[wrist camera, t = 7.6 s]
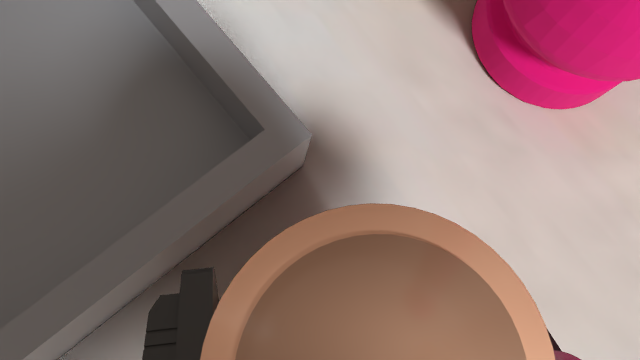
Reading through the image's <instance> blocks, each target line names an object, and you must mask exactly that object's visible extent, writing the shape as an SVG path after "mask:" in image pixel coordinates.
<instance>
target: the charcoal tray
mask: <svg viewBox="0 0 640 360" xmlns="http://www.w3.org/2000/svg"><path fill="white" fill-rule="evenodd" d="M311 136H312V134H311V133H310V132H309V131H308V130H307V128H306V127H305V126H304V125H303V124H302V123H301V121H300V120H299V119H298V118H297V117H296V116H295V114H294V113H293V112H292V111H291V110H290V109H289V107H288V106H287V105H286V104H285V103H284V102H283V101H282V99H281V98H280V97H279V96H278V95H277V94H276V92H275V91H274V90H273V89H272V88H271V87H270V85H269V84H268V83H267V82H266V81H265V80H264V78H263V77H262V76H261V75H260V74H259V73H258V71H257V70H256V69H255V68H254V67H253V66H252V65H251V63H250V62H249V61H248V60H247V59H246V58H245V56H244V55H243V54H242V53H241V52H240V51H239V49H238V48H237V47H236V46H235V45H234V44H233V42H232V41H231V40H230V39H229V38H228V37H227V36H226V34H225V33H224V32H223V31H222V30H221V29H220V27H219V26H218V25H217V24H216V23H215V22H214V20H213V19H212V18H211V17H210V16H209V15H208V13H207V12H206V11H205V10H204V9H203V8H202V6H201V5H200V4H199V3H198V2H197V1H196V0H0V360H57V359H59V358H60V357H61V356H62V355H64V354H65V353H66V352H68V351H69V350H70V349H71V348H73V347H74V346H75V345H76V344H78V343H79V342H80V341H81V340H83V339H84V338H85V337H87V336H88V335H89V334H90V333H92V332H93V331H94V330H95V329H97V328H98V327H99V326H101V325H102V324H103V323H104V322H106V321H107V320H108V319H109V318H111V317H112V316H113V315H114V314H116V313H117V312H118V311H120V310H121V309H122V308H123V307H125V306H126V305H127V304H128V303H130V302H131V301H132V300H133V299H135V298H136V297H137V296H139V295H140V294H141V293H142V292H144V291H145V290H146V289H147V288H149V287H150V286H151V285H152V284H154V283H155V282H156V281H158V280H159V279H160V278H161V277H163V276H164V275H165V274H166V273H168V272H169V271H170V270H171V269H173V268H174V267H175V266H177V265H178V264H179V263H180V262H182V261H183V260H184V259H185V258H187V257H188V256H189V255H190V254H192V253H193V252H194V251H196V250H197V249H198V248H199V247H201V246H202V245H203V244H204V243H206V242H207V241H208V240H210V239H211V238H212V237H213V236H215V235H216V234H217V233H218V232H220V231H221V230H222V229H223V228H225V227H226V226H227V225H229V224H230V223H231V222H232V221H234V220H235V219H236V218H237V217H239V216H240V215H241V214H242V213H244V212H245V211H246V210H248V209H249V208H250V207H251V206H253V205H254V204H255V203H256V202H258V201H259V200H260V199H261V198H263V197H264V196H265V195H267V194H268V193H269V192H270V191H272V190H273V189H274V188H275V187H277V186H278V185H279V184H280V183H282V182H283V181H284V180H286V179H287V178H288V177H289V176H291V175H292V174H293V173H294V172H296V171H297V170H298V169H300V168H301V167H302V166H303V164H304V160H305V157H306V153H307V150H308V147H309V143H310V140H311Z"/></svg>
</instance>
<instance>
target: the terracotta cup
mask: <svg viewBox="0 0 640 360" xmlns="http://www.w3.org/2000/svg"><path fill="white" fill-rule="evenodd" d="M200 360H555V356H554V351H553V347H552V344H551V341H550V338H549V334H548V331H547V328H546V325H545V323H544V321H543V319H542V317H541V314H540V312H539V310H538V308H537V306H536V304H535V302H534V300H533V299H532V297H531V295H530V294H529V292H528V290H527V289H526V287H525V286H524V284H523V282H522V281H521V280H520V279H519V277H518V276H517V275H516V274H515V272H514V271H513V270H512V268H511V267H510V266H509V265H508V264H507V263H506V262H505V261H504V260H503V259H502V258H501V257H500V256H499V255H498V254H497V253H496V252H495V251H494V250H493V249H492V248H491V247H490V246H488V245H487V244H486V243H485V242H483V241H482V240H481V239H479V238H478V237H477V236H476V235H474V234H473V233H471V232H469V231H468V230H466V229H464V228H463V227H461V226H459V225H458V224H456V223H454V222H452V221H449V220H447V219H445V218H443V217H440V216H438V215H436V214H433V213H429V212H426V211H423V210H419V209H416V208H412V207H406V206H400V205H394V204H360V205H350V206H345V207H340V208H336V209H332V210H327V211H324V212H322V213H319V214H316V215H314V216H311V217H308V218H306V219H304V220H302V221H300V222H298V223H296V224H294V225H293V226H291V227H289V228H287V229H285V230H284V231H282V232H281V233H280V234H278V235H277V236H275V237H274V238H273V239H271V240H270V241H268V242H267V243H266V244H265V245H264V246H263V247H262V248H261V249H259V250H258V251H257V252H256V253H255V254H254V255H253V256H252V257H251V258H250V259H249V260H248V261H247V262H246V264H245V265H244V266H243V267H242V268H241V270H240V271H239V272H238V273H237V275H236V276H235V277H234V278H233V280H232V282H231V283H230V285H229V286H228V288H227V290H226V291H225V293H224V294H223V296H222V297H221V300H220V302H219V304H218V306H217V308H216V310H215V312H214V314H213V317H212V319H211V321H210V324H209V327H208V331H207V334H206V337H205V340H204V343H203V347H202V353H201V358H200Z"/></svg>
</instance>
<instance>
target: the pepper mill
mask: <svg viewBox="0 0 640 360" xmlns="http://www.w3.org/2000/svg"><path fill="white" fill-rule="evenodd" d="M472 36H473V41H474V45H475V48H476V51H477V53H478V56H479V59H480V61H481V62H482V64H483V65H484V67H485V68H486V70H487V72H488V73H489V74H490V75H491V77H492V78H493V79H494V80H495V81H496V82H497V83H498V84H499V85H500V86H501V88H503V89H504V90H506V91H507V92H509V93H510V94H512V95H513V96H515V97H516V98H518V99H520V100H522V101H523V102H526V103H529V104H533V105H536V106H540V107H543V108H549V109H568V108H575V107H579V106H582V105H585V104H588V103H590V102H592V101H593V100H595V99H597V98H598V97H600V96H602V95H603V94H604V93H606V92H607V91H609V90H610V89H612V88H613V87H615V86H616V85H618V84H619V83H621V82H622V81H631V80H636V79H640V0H477V2H476V5H475V9H474V13H473V18H472Z"/></svg>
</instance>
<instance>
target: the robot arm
mask: <svg viewBox="0 0 640 360" xmlns="http://www.w3.org/2000/svg"><path fill="white" fill-rule="evenodd" d="M218 304H219V299H218V292H217V285H216V277H215V271H214V267H213V268H204V269H194V270H184V271H182V274H181V287H180V293H179V294H170V295H160V297H159V298H158V300H157V301H156V303H155V304H154V306H153V307H152V309H151V310H150V312H149V315H148V322H147V329H146V336H145V344H144V351H143V358H142V360H200V358H201V353H202V347H203V343H204V340H205V337H206V334H207V331H208V327H209V324H210V321H211V319H212V317H213V314H214V312H215V310H216V308H217V306H218ZM547 331H548V330H547ZM548 334H549V338H550V341H551V344H552V347H553V351H554V356H555V360H581V359H579V358H577V357H575V356H573V355H571V354H568V353H565V352H562V351H561V349H560V348H559V346H558V345H557V343H556V342H555V340H554V339H553V337H552V336H551V334H550V333H549V331H548Z"/></svg>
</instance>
